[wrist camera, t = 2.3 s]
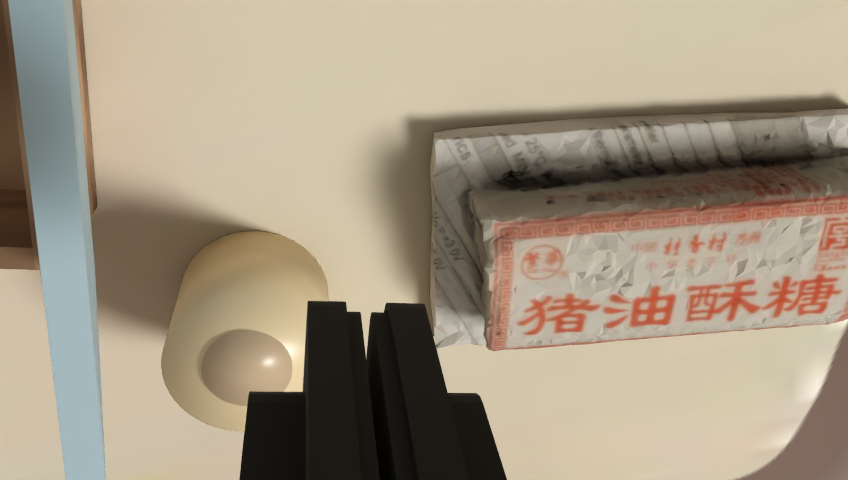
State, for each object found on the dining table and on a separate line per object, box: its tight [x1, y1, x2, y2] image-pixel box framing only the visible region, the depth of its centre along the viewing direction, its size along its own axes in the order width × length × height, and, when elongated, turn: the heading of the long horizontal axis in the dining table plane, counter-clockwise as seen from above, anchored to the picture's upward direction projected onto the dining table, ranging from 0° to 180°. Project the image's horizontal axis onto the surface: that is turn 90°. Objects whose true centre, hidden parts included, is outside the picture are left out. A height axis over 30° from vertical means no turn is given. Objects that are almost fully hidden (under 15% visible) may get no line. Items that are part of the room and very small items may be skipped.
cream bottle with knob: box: [161, 231, 328, 432], centre depth 31 cm, size 6×6×5 cm
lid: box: [8, 0, 106, 480], centre depth 19 cm, size 14×10×1 cm
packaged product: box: [430, 108, 848, 351], centre depth 32 cm, size 18×5×10 cm
